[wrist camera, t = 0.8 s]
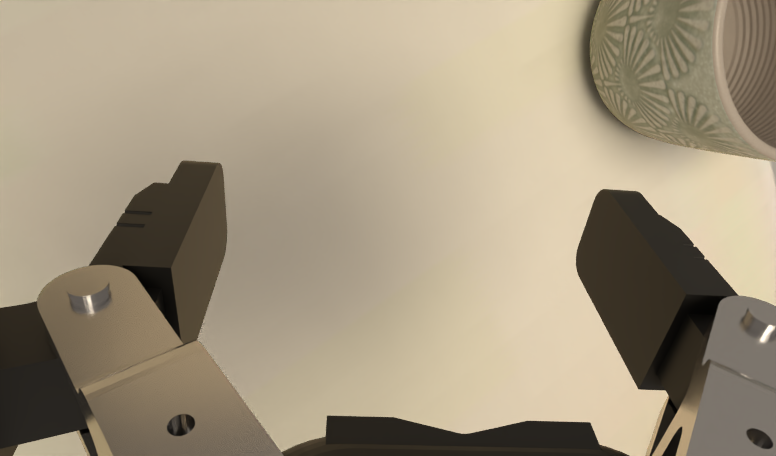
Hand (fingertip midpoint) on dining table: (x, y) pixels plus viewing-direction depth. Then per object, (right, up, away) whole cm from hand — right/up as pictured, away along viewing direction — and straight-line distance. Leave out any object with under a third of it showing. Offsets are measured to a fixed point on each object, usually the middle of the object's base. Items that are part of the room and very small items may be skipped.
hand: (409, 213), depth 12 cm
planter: (+16, +11, +23) cm, 30 cm away
